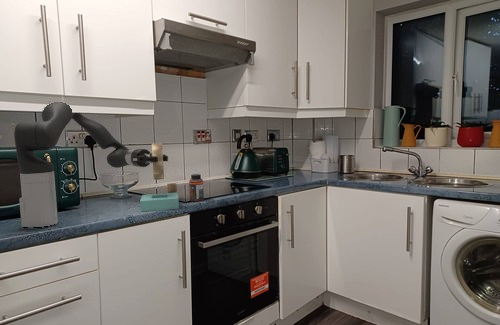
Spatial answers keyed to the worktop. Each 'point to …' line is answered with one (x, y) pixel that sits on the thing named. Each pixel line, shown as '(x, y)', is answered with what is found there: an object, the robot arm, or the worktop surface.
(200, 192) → the supplement bottle
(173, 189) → the short peg
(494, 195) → the worktop surface
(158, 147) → the tall peg
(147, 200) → the socket block
